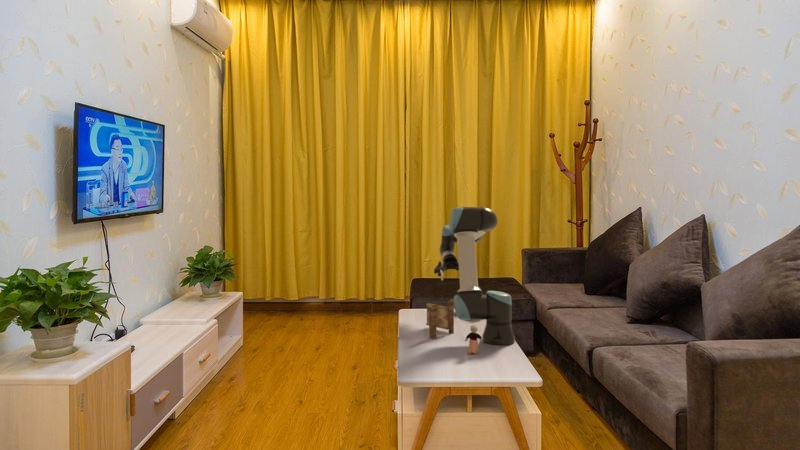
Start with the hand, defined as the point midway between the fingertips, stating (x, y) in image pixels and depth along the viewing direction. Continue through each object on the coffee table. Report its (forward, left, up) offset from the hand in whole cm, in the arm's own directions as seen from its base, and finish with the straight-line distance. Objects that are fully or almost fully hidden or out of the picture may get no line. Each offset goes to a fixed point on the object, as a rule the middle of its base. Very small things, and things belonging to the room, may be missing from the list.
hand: (455, 278), depth 266 cm
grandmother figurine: (-38, +16, -26) cm, 49 cm away
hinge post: (-6, +6, -26) cm, 27 cm away
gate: (+2, +9, -25) cm, 26 cm away
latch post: (-9, +20, -26) cm, 34 cm away
